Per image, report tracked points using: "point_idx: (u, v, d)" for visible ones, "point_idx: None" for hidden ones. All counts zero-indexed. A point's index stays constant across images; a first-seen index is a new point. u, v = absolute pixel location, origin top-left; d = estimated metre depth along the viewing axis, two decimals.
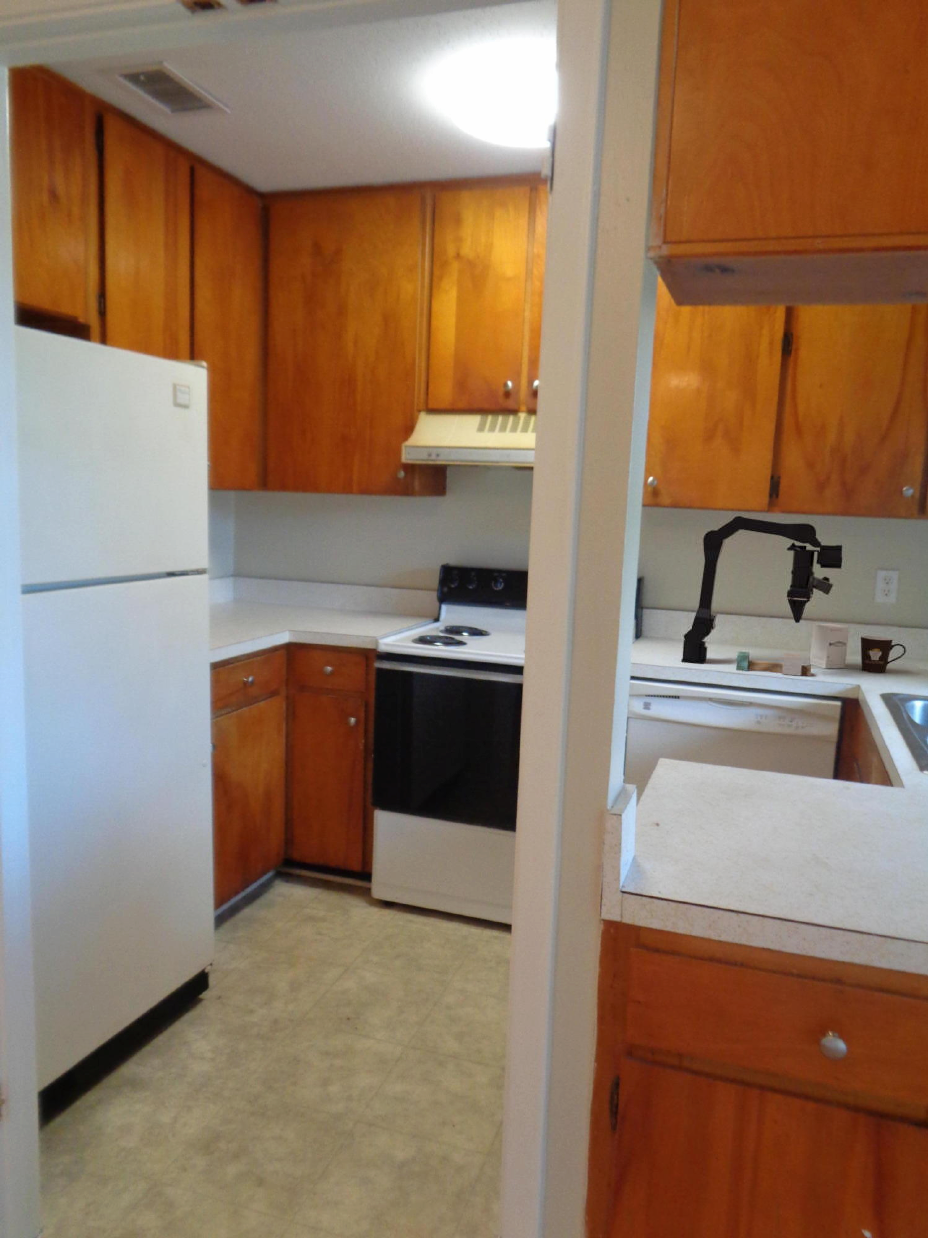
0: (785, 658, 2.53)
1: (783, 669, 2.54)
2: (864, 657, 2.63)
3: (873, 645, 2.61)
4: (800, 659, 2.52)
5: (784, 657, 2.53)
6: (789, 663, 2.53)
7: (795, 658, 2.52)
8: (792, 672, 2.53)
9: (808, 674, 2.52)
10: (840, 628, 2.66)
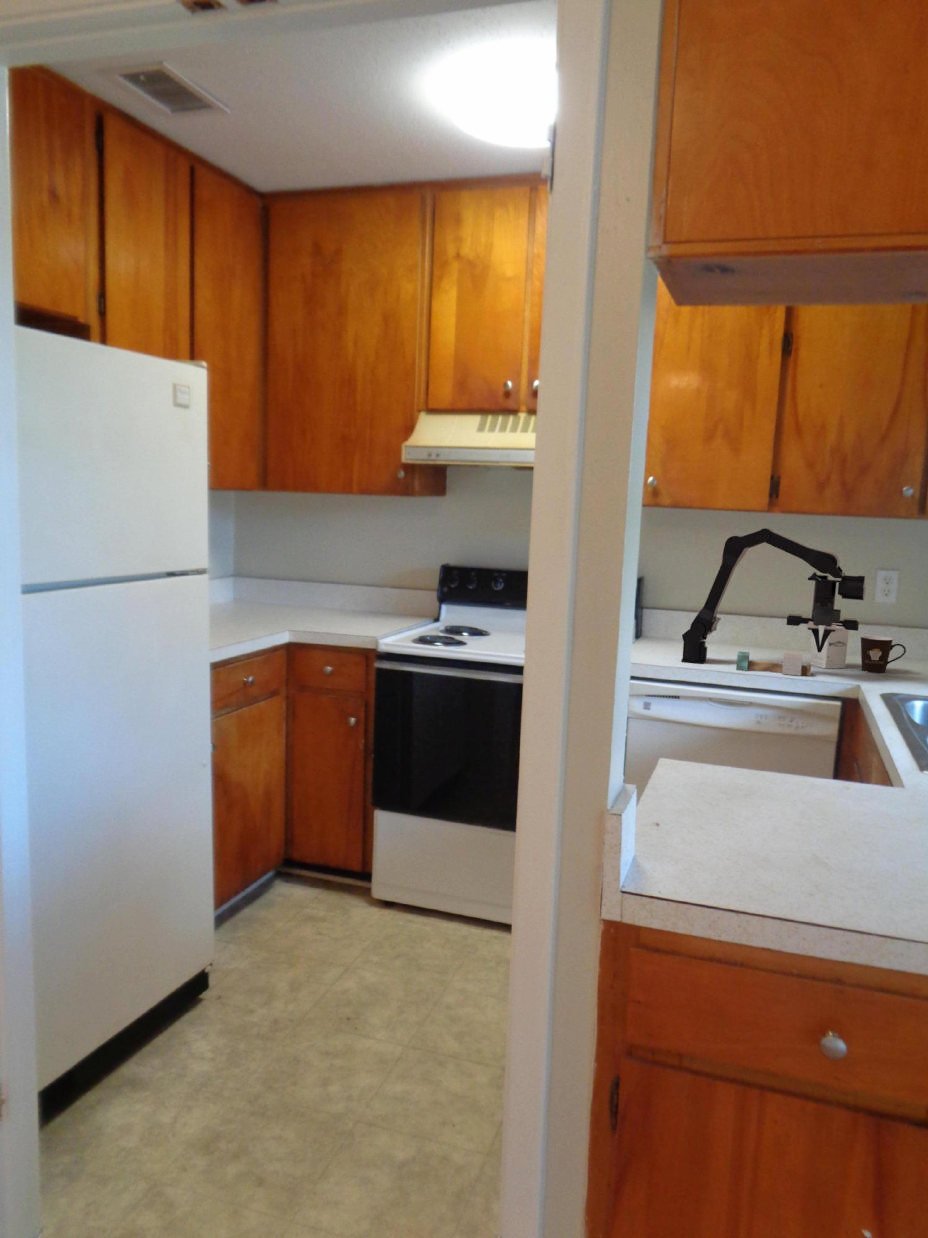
0: (785, 658, 2.53)
1: (783, 669, 2.54)
2: (864, 657, 2.63)
3: (873, 645, 2.61)
4: (800, 659, 2.52)
5: (784, 657, 2.53)
6: (789, 663, 2.53)
7: (795, 658, 2.52)
8: (792, 672, 2.53)
9: (808, 674, 2.52)
10: (840, 628, 2.66)
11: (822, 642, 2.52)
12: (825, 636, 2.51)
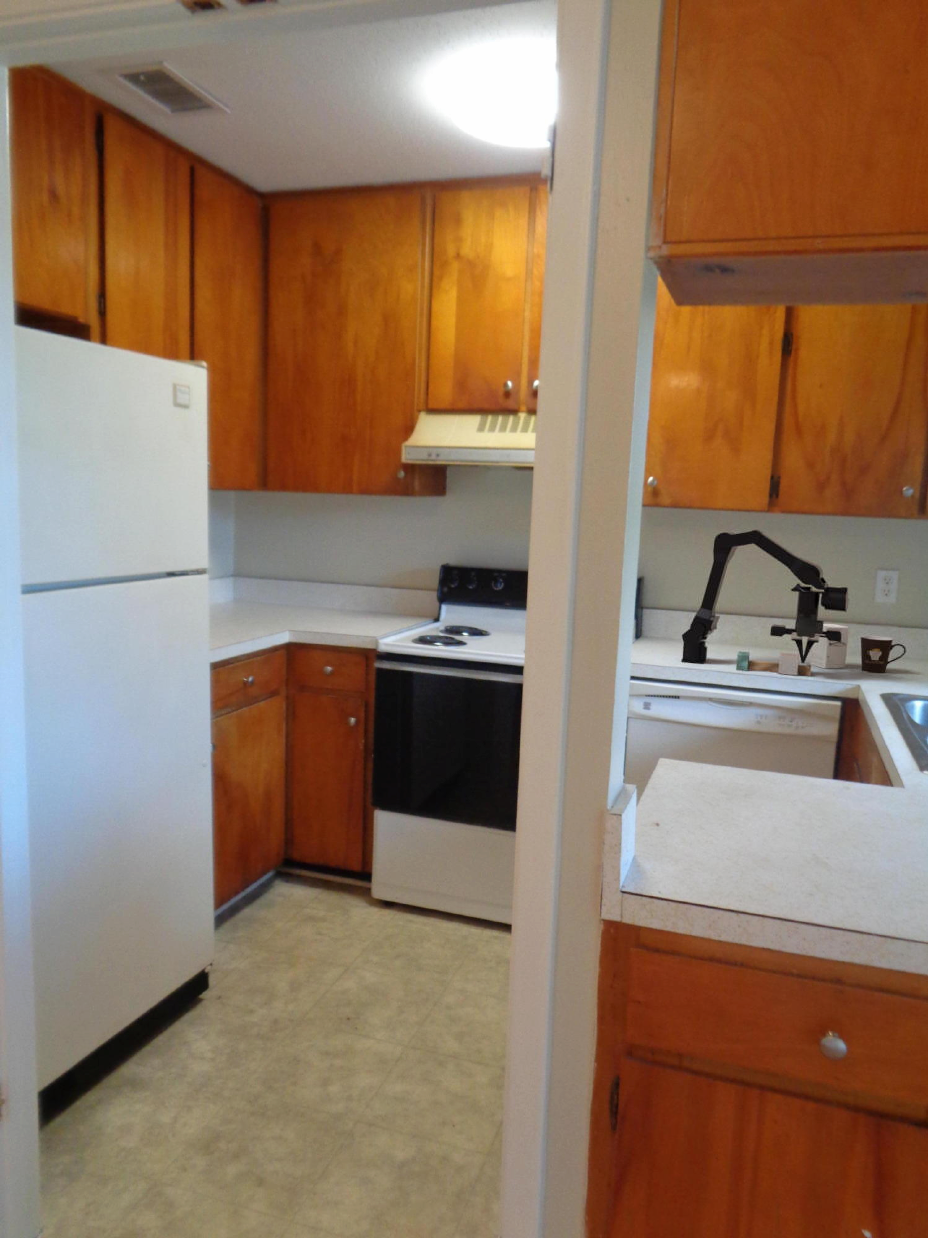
0: (781, 658, 2.54)
1: (779, 669, 2.54)
2: (864, 657, 2.63)
3: (873, 645, 2.61)
4: (796, 659, 2.52)
5: (780, 657, 2.54)
6: (785, 663, 2.53)
7: (791, 658, 2.53)
8: (788, 672, 2.53)
9: (808, 674, 2.52)
10: (840, 628, 2.66)
11: (805, 653, 2.53)
12: (808, 647, 2.53)
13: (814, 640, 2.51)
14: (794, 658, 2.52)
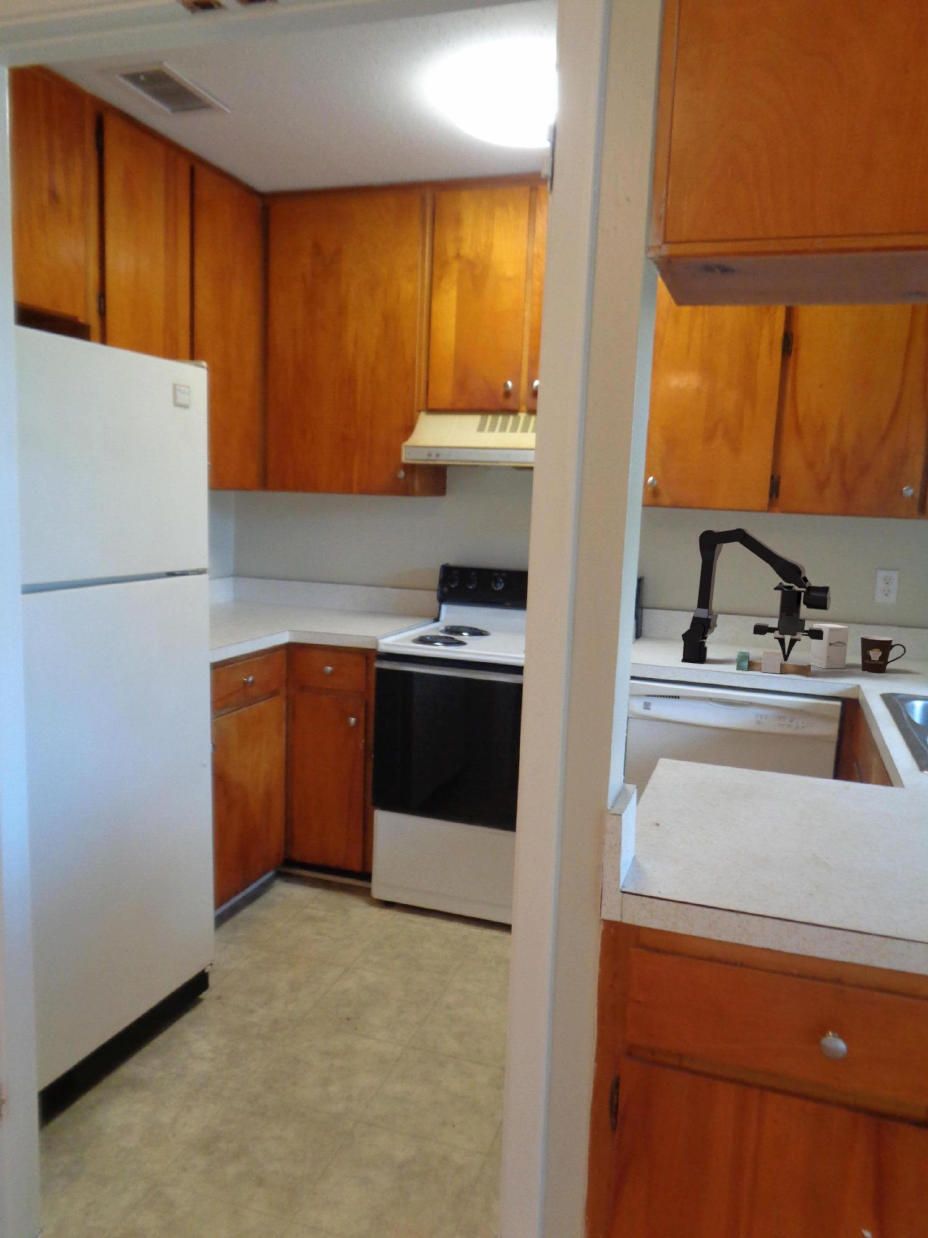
0: (764, 656, 2.55)
1: (762, 667, 2.56)
2: (864, 657, 2.63)
3: (873, 645, 2.61)
4: (779, 657, 2.54)
5: (763, 655, 2.55)
6: (768, 661, 2.55)
7: (774, 656, 2.54)
8: (771, 670, 2.55)
9: (808, 674, 2.52)
10: (840, 628, 2.66)
11: (788, 651, 2.55)
12: (791, 645, 2.54)
13: (796, 639, 2.53)
14: (776, 656, 2.54)
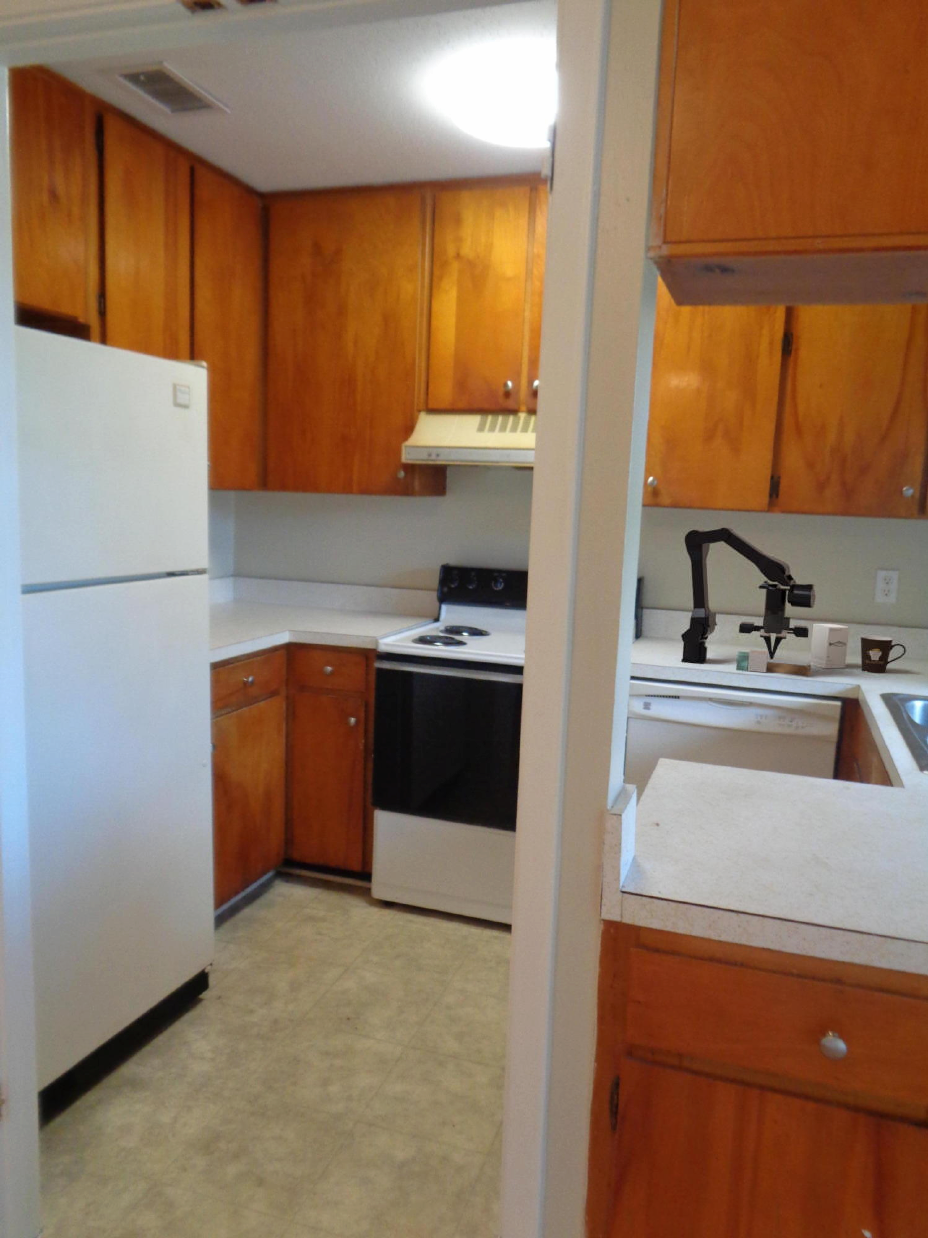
0: (750, 655, 2.56)
1: (749, 666, 2.57)
2: (864, 657, 2.63)
3: (873, 645, 2.61)
4: (765, 656, 2.55)
5: (750, 654, 2.57)
6: (754, 660, 2.56)
7: (760, 655, 2.55)
8: (757, 669, 2.56)
9: (808, 674, 2.52)
10: (840, 628, 2.66)
11: (774, 649, 2.56)
12: (776, 643, 2.56)
13: (782, 637, 2.54)
14: (763, 655, 2.55)
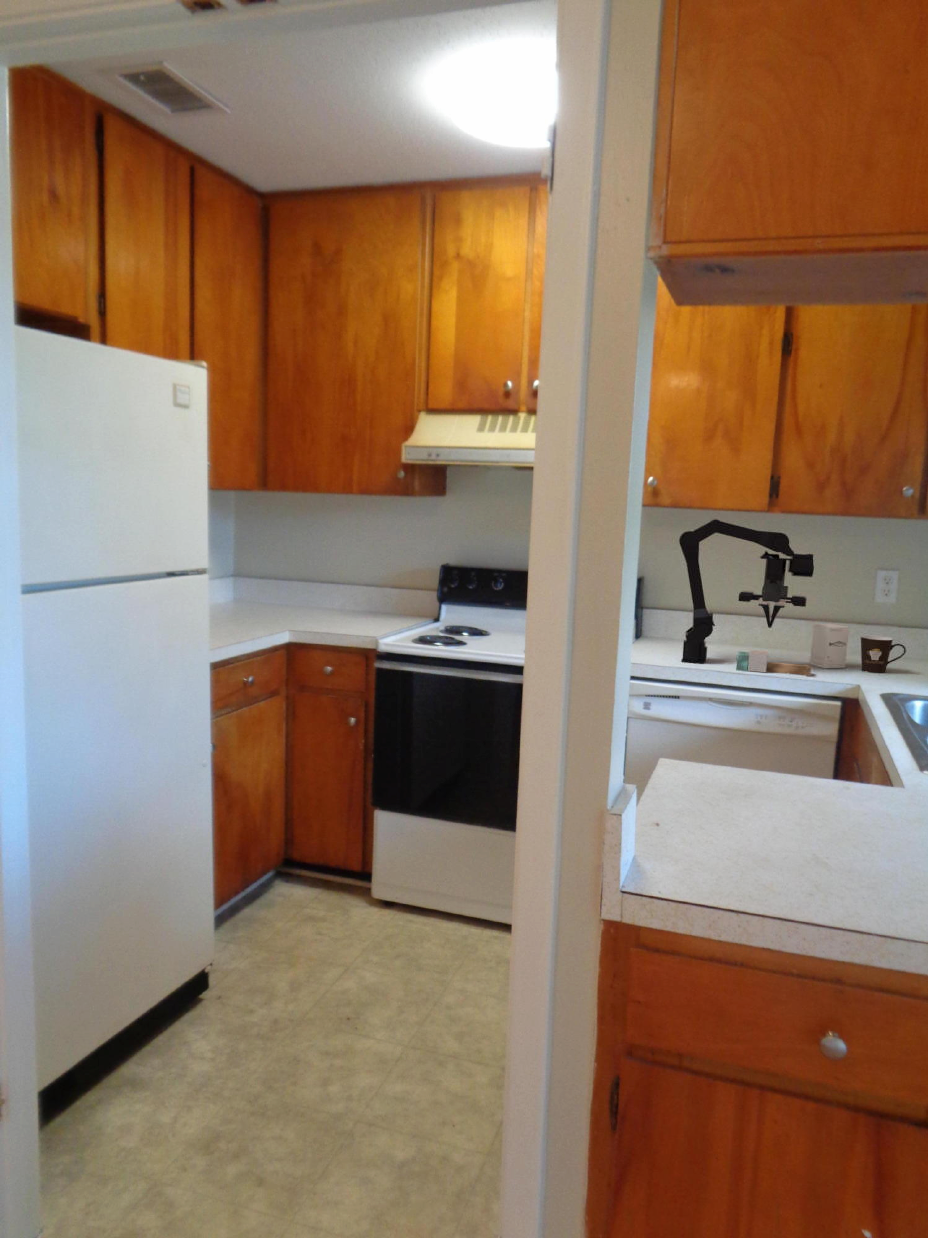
0: (751, 655, 2.56)
1: (749, 666, 2.57)
2: (864, 657, 2.63)
3: (873, 645, 2.61)
4: (765, 656, 2.55)
5: (750, 654, 2.56)
6: (754, 660, 2.56)
7: (760, 655, 2.55)
8: (757, 669, 2.56)
9: (808, 674, 2.52)
10: (840, 628, 2.66)
11: (772, 618, 2.63)
12: (775, 612, 2.62)
13: (780, 605, 2.61)
14: (763, 655, 2.55)
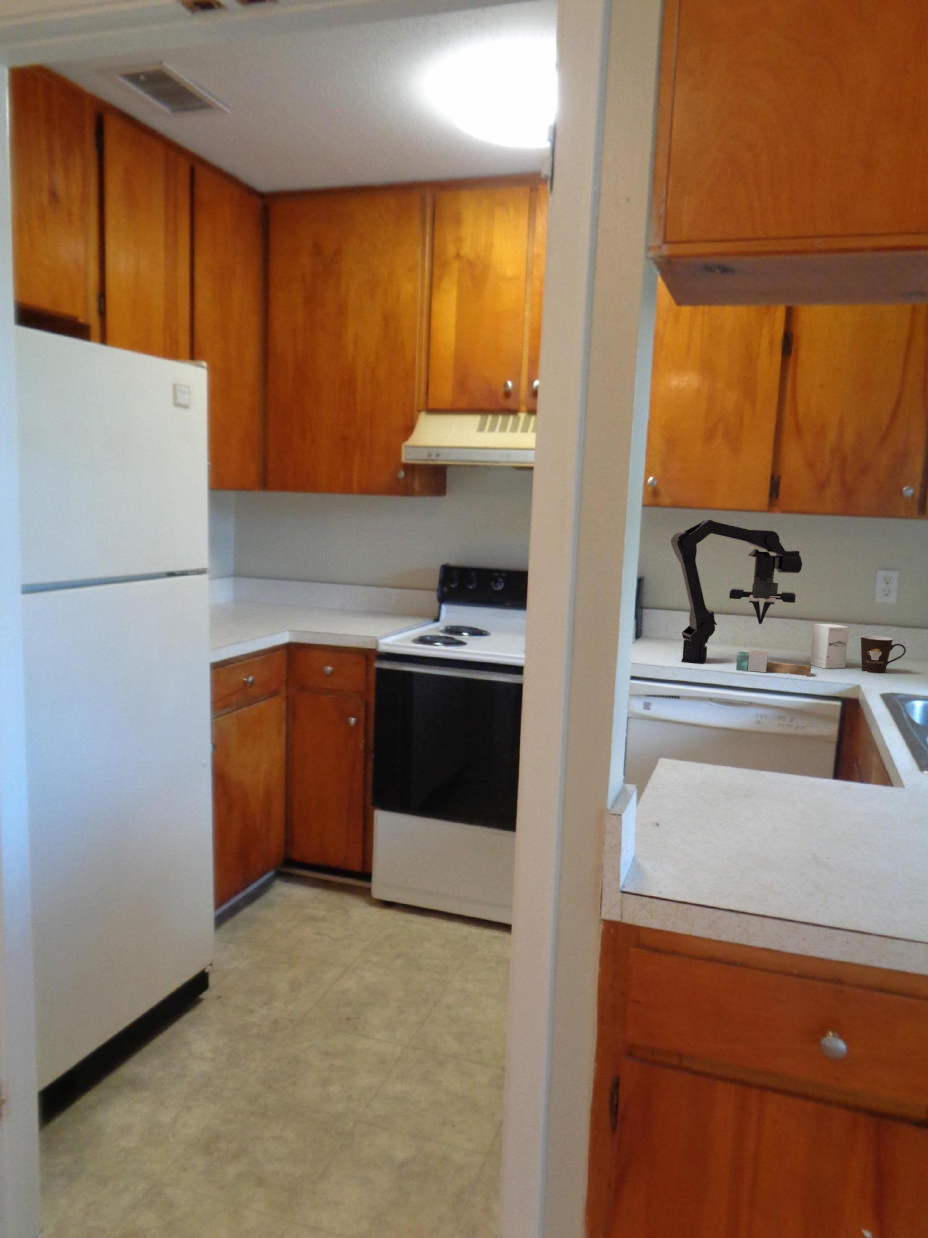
0: (751, 655, 2.56)
1: (749, 666, 2.57)
2: (864, 657, 2.63)
3: (873, 645, 2.61)
4: (765, 656, 2.55)
5: (750, 654, 2.56)
6: (754, 660, 2.56)
7: (760, 655, 2.55)
8: (757, 669, 2.56)
9: (808, 674, 2.52)
10: (840, 628, 2.66)
11: (762, 614, 2.69)
12: (765, 608, 2.68)
13: (770, 602, 2.67)
14: (763, 655, 2.55)
